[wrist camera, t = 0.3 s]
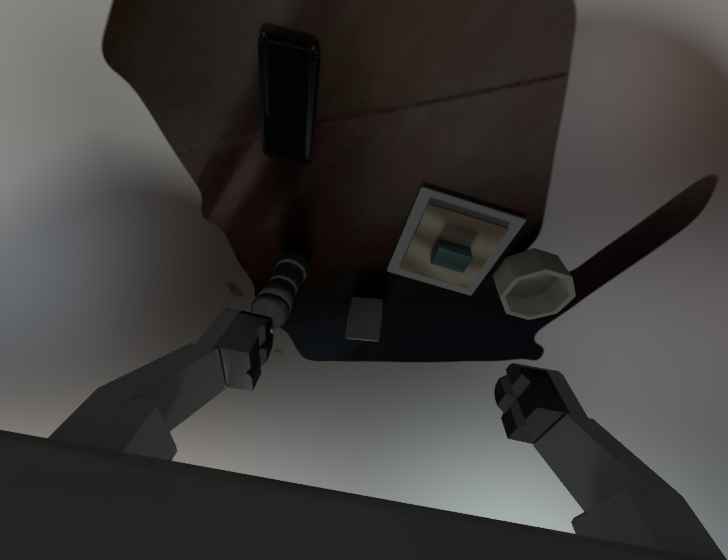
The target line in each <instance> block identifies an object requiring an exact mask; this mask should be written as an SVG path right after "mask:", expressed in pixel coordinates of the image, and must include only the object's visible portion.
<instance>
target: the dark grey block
mask: <svg viewBox="0 0 728 560" xmlns="http://www.w3.org/2000/svg"><path fill="white" fill-rule="evenodd" d="M382 310H383V299H373V298H361V297H353V298H352V302H351V306H350V311H349V315H348V321H347V329H346V335H345V338H346V339H356V340H366V341H377V342H379V336H380V329H381V320H382Z"/></svg>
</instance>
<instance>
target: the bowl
mask: <svg viewBox="0 0 728 560" xmlns="http://www.w3.org/2000/svg"><path fill="white" fill-rule="evenodd" d="M493 278H494V281H495V284H496V287H497V290H498V293H499V296H500V298H501V301H502V304H503V306H504V309H505V312H506V313H507V314H510V315H514V316H517V317H521V318H524V319H527V320H530V319H535V318H539V317H543V316H548V315H552V314H556V313H558V312H559V311H560V310H561V309H562V308H563V307H564V306H565V305H567V304H568V303H569V302H570V301H571V300H572V299H573V298H574V297H575V296H576V295H575V290H574V284H573V278H572V276H571V274H570V273H569V272H568V270H567V269H566V267H565V266H564V264H563V263H562V262H561V260H560V259H559V257H558V256H557V255H554V254H551V253H548V252H544V251H541V250H538V249H535V248H533V249H530V250H527V251H524V252H521V253H518V254H515V255H511V256H508V257H506V258H505V260H504V261H503V262H502V264H501V265H500V266H499V267H498V269H497V270H496V271H495V273H494V274H493Z"/></svg>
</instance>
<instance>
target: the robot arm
mask: <svg viewBox="0 0 728 560" xmlns="http://www.w3.org/2000/svg"><path fill="white" fill-rule="evenodd" d="M272 326H273V319H272V318H271V317H269V316H264V315H259V314H255V313H250V312H245V311H239V310H235V309H230V308H225V309H223V310H222V311H221V312H220V313H219V315H218V316H217V317H216V319H215V320H214V321H213V322H212V324H211V325H210V326H209V327H208V329H207V330H206V331H205V333H204V334H203V335H202V336H201V337H200V339H199V340H198V341H197V343H196V344H192V343H190V344H188V345H186V346H184V347H182V348H180V349H178V350H175V351H173V352H172V353H169V354H167V355H165V356H163V357H161V358H159V359H157V360H155V361H153V362H151V363H149V364H147V365H144V366H142V367H140V368H138V369H136V370H134V371H132V372H130V373H128V374H126V375H124V376H122V377H120V378H118V379H116V380H114V381H111V382H109V383H107V384H105V385H103V386H101V387H99V388H98V389H96V391H94V393H92V395H91V396H90V397H89V398H87V399H86V400H85V402H83V403H82V404H81V405H80V406H79V408H77V409H76V410H75V412H74V413H73V414H71V416H69V417H68V419H66V421H65V422H63V424H61V425H60V426H59V427H58V428H57V430H55V431H54V432H53V434H51V435H50V437H49V438H42V437H37V436H31V435H26V434H20V433H14V432H9V431H3V430H0V560H727V559H726V558H725V556H724V555H723V554H722V552H721V551H720V549H719V548H718V546H717V545H716V543H715V542H714V541H713V539H712V538H711V536H710V535H709V534H708V532H707V531H706V529H705V528H704V526H703V525H702V523H701V522H700V521H699V519H698V518H697V516H696V515H695V513H694V512H693V511H692V509H691V508H690V506H689V505H688V504H687V502H686V501H685V499H684V498H683V497H682V496H681V495H680V494H679V493H678V492H677V491H676V490H674V489H673V488H672V487H671V486H670V485H669V484H668V483H666V482H665V481H664V480H663V479H662V478H661V477H659V476H658V475H657V474H656V473H655V472H654V471H652V470H651V469H650V468H649V467H648V466H647V465H645V464H644V463H643V462H642V461H641V460H640V459H639V458H637V457H636V456H635V455H634V454H633V453H632V452H630V451H629V450H628V449H627V448H626V447H624V445H622V444H621V443H620V442H619V441H618V440H617V439H615V438H614V437H613V436H612V435H611V434H610V433H609V432H607V431H606V430H605V429H604V428H603V427H601V426H600V425H599V424H598V423H597V422H596V421H595V420H594V419H590V418H588V417H587V415H586V413H585V412H584V410H583V408H582V407H581V405H580V403H579V402H578V400H577V398H576V396H575V395H574V393H573V391H572V390H571V388H570V386H569V384H568V383H567V381H566V379H565V378H564V376H563V375H562V374H561V373H560V372H559V371H554V370H548V369H542V368H538V367H532V366H527V365H521V364H516V363H512V364H510V365H509V366H508V367H507V369H506V373H507V375H505V376H503V377H501V378H499V380H498V381H497V383H496V385H495V391H494V393H495V400H496V403H497V406H498V407H499V408H500V409H501V410H502V411H503V415H502V418H501V419H502V422H503V425H504V428H505V432H506V435H507V438H508V439H513V440H517V441H522V442H527V443H531V444H534V445H533V446H534V447H535V448H536V449H537V451H538V452H539V453H540V455H541V456H542V457H543V459H544V460H545V461H546V462H547V464H548V465H549V466H550V468H551V469H552V470H553V471H554V473H555V474H556V475H557V477H558V478H559V479H560V481H561V482H562V483H563V484H564V486H565V487H566V488H567V490H568V491H569V492H570V494H571V495H572V496H573V497H574V499H575V500H576V501H577V502H578V504H579V505H580V506H581V508H582V509H583V510H584V513H582V514H580V515H578V516H577V517H575V518H573V520H572V522H571V523H572V525H573V528H574V530H575V533H576V534H573V533H567V532H562V531H556V530H551V529H545V528H540V527H534V526H528V525H523V524H518V523H512V522H506V521H501V520H496V519H490V518H485V517H479V516H474V515H468V514H463V513H457V512H451V511H446V510H440V509H435V508H429V507H424V506H418V505H413V504H407V503H402V502H396V501H390V500H385V499H380V498H374V497H368V496H363V495H358V494H352V493H347V492H341V491H336V490H330V489H324V488H319V487H314V486H308V485H302V484H297V483H291V482H286V481H280V480H275V479H268V478H264V477H258V476H253V475H247V474H241V473H236V472H231V471H225V470H219V469H213V468H208V467H203V466H197V465H191V464H186V463H181V462H175V461H172V459H173V457H174V455H175V454H176V452H177V449H176V445H175V443H174V441H173V439H172V436H171V435H170V431H171V430H172V429H173V428H175V427H176V426H177V425H179V424H180V423H181V422H183V421H184V420H185V419H187V418H188V417H189V416H191V415H192V414H193V413H194V412H196V411H197V410H198V409H200V408H201V407H202V406H204V405H205V404H206V403H207V402H209V401H210V400H211V399H213V398H214V397H215V396H216V395H218V394H219V393H220V392H222V391H223V390H224V389H225V388H226V387H231V388H237V389H244V390H251V391H253V389H254V387H255V385H256V383H257V381H258V379H259V377H260V375H261V365H263V364H264V363H266V362H267V360H268V358H269V355H270V352H271V349H272V345H273V334H272V333H271V332H270V330H271V328H272Z"/></svg>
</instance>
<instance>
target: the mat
mask: <svg viewBox="0 0 728 560" xmlns="http://www.w3.org/2000/svg"><path fill="white" fill-rule="evenodd" d="M428 202H430V203H433V204H436V205H439V206H442V207H446V208H449V209H452V210H455V211H458V212H462V213H465V214H468V215H471V216H474V217H478V218H481V219H484V220H487V221H490V222H494V223H497V224H500V225H503V226H507V227H508V228H509V230H508V232H507V233H506V234H505V236H504V237H503V239H502V240H501V241H500V243H499V244H498V246H497V247H496V249H495V250H494V251H493V253H492V254H491V256H490V257H489V258H488V260H487V261H486V263H485V264H484V266H483V267H482V268H481V270H480V271H479V273H478V274H477V275H476V277H475V278H474V280H473V281H472V282H471V284H470V285H469V287H468V288H467V289H466V288H463V287H460V286H456V285H453V284H449V283H446V282H442V281H439V280H436V279H432V278H429V277H425V276H422V275H418V274H415V273H412V272H408V271H405V270H401V269H399V267H400V264H401V262H402V260H403V258H404V255H405V253H406V251H407V249H408V246H409V244H410V242H411V240H412V237H413V235H414V233H415V231H416V229H417V226H418V224H419V222H420V220H421V217H422V215H423V213H424V211H425V209H426V206H427V204H428ZM525 221H526V219H525V218H523V217H519V216H516V215H513V214H510V213H507V212H504V211H500V210H497V209H494V208H491V207H488V206H485V205H481V204H478V203H475V202H472V201H469V200H466V199H462V198H459V197H456V196H453V195H450V194H447V193H443V192H440V191H437V190H434V189H431V188H428V187H424V186H421V188H420V190H419V193H418V195H417V197H416V200H415V202H414V205H413V207H412V210H411V212H410V214H409V217H408V219H407V222H406V224H405V226H404V229H403V231H402V234H401V236H400V239H399V241H398V243H397V246H396V248H395V251H394V253H393V256H392V258H391V260H390V263H389V265H388V268H387V271H388V272H391V273H395V274H398V275H402V276H405V277H409V278H412V279H415V280H419V281H422V282H426V283H429V284H433V285H436V286H440V287H443V288H446V289H450V290H453V291H457V292H460V293H464V294H467V295H472V293H473V292H474V291H475V289H476V288H477V287H478V285H479V284H480V282H481V281H482V280H483V278H484V277H485V276H486V274H487V273H488V272H489V270H490V269H491V268H492V266H493V265H494V263H495V262H496V261H497V259H498V258H499V257H500V255H501V254H502V253H503V251H504V250H505V249H506V247H507V246H508V244H509V243H510V242H511V240H512V239H513V238H514V236H515V235H516V234H517V232H518V231H519V230H520V228H521V227H522V225H523V224H524V223H525Z"/></svg>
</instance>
